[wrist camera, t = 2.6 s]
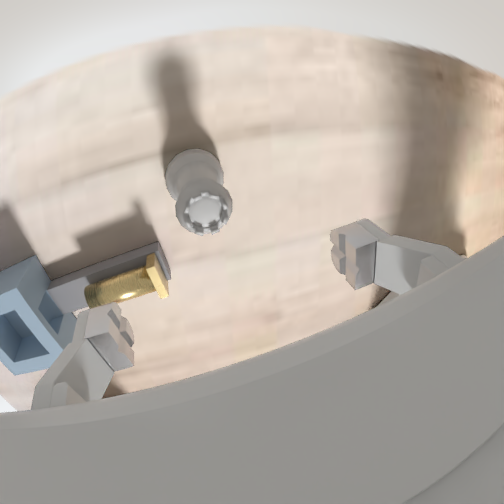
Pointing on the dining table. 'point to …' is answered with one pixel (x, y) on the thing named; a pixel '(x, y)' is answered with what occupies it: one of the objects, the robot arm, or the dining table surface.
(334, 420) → the robot arm
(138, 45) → the dining table surface
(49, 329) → the mount
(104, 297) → the lock pin
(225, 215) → the rook chess piece
